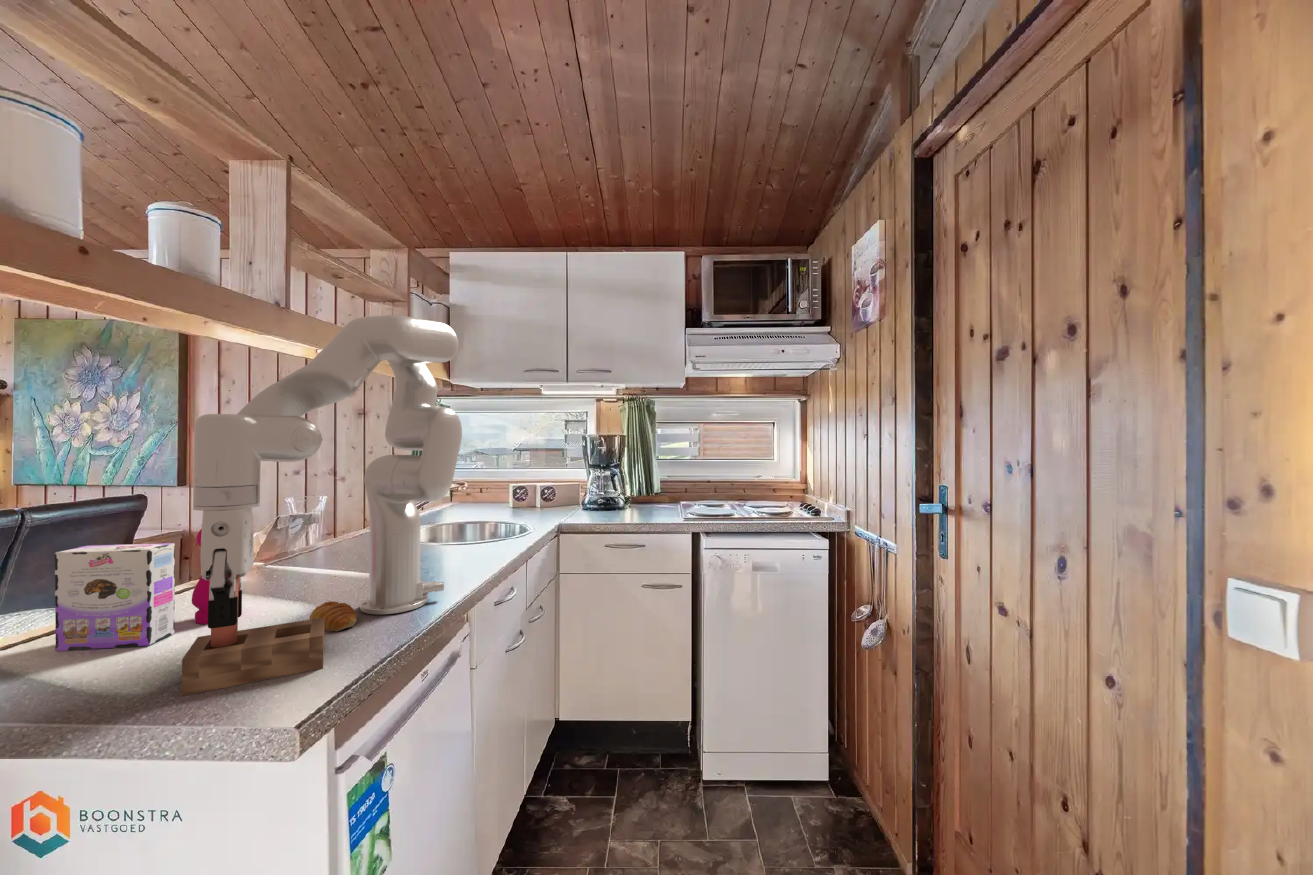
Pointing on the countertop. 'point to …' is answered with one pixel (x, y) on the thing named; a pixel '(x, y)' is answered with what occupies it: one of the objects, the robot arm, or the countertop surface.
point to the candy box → (114, 595)
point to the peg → (228, 633)
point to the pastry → (335, 615)
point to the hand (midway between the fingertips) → (225, 621)
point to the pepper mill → (201, 595)
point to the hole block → (254, 656)
